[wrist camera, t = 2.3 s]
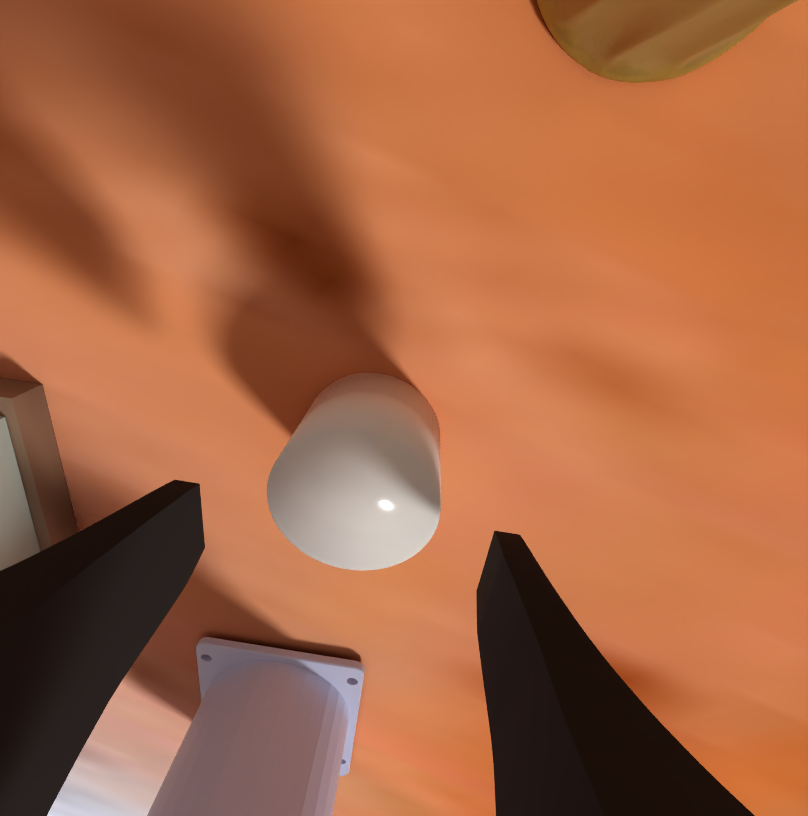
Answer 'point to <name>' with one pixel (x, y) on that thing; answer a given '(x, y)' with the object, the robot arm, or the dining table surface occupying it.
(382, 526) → the white rounded dome
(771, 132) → the dining table surface
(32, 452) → the tower base
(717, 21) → the vase
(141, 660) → the dining table surface
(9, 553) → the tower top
